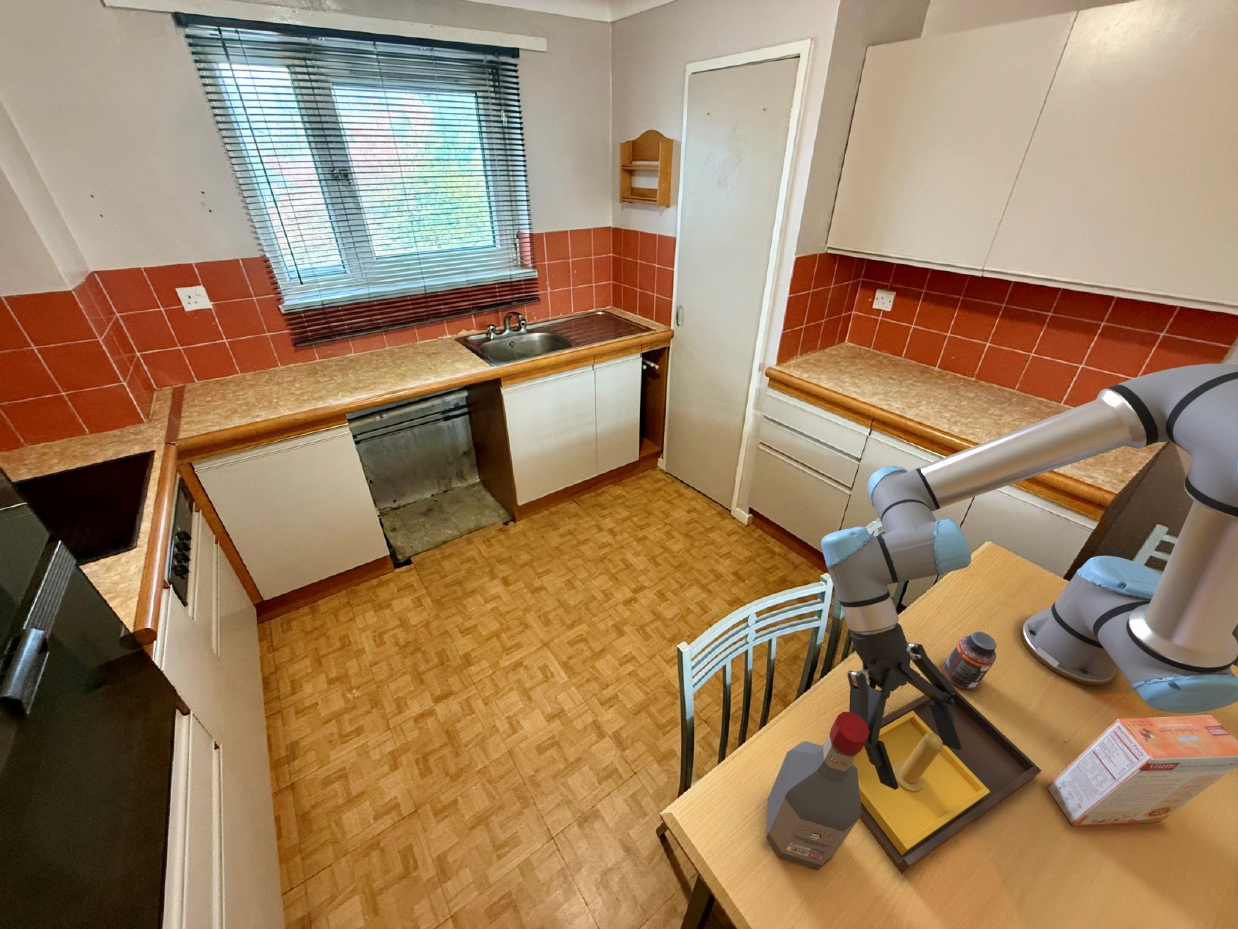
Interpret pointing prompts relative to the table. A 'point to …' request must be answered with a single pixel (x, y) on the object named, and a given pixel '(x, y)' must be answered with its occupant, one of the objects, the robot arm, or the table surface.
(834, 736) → the liquor
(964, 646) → the supplement bottle
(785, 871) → the table surface
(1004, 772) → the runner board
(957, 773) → the tray
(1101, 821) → the cracker box
